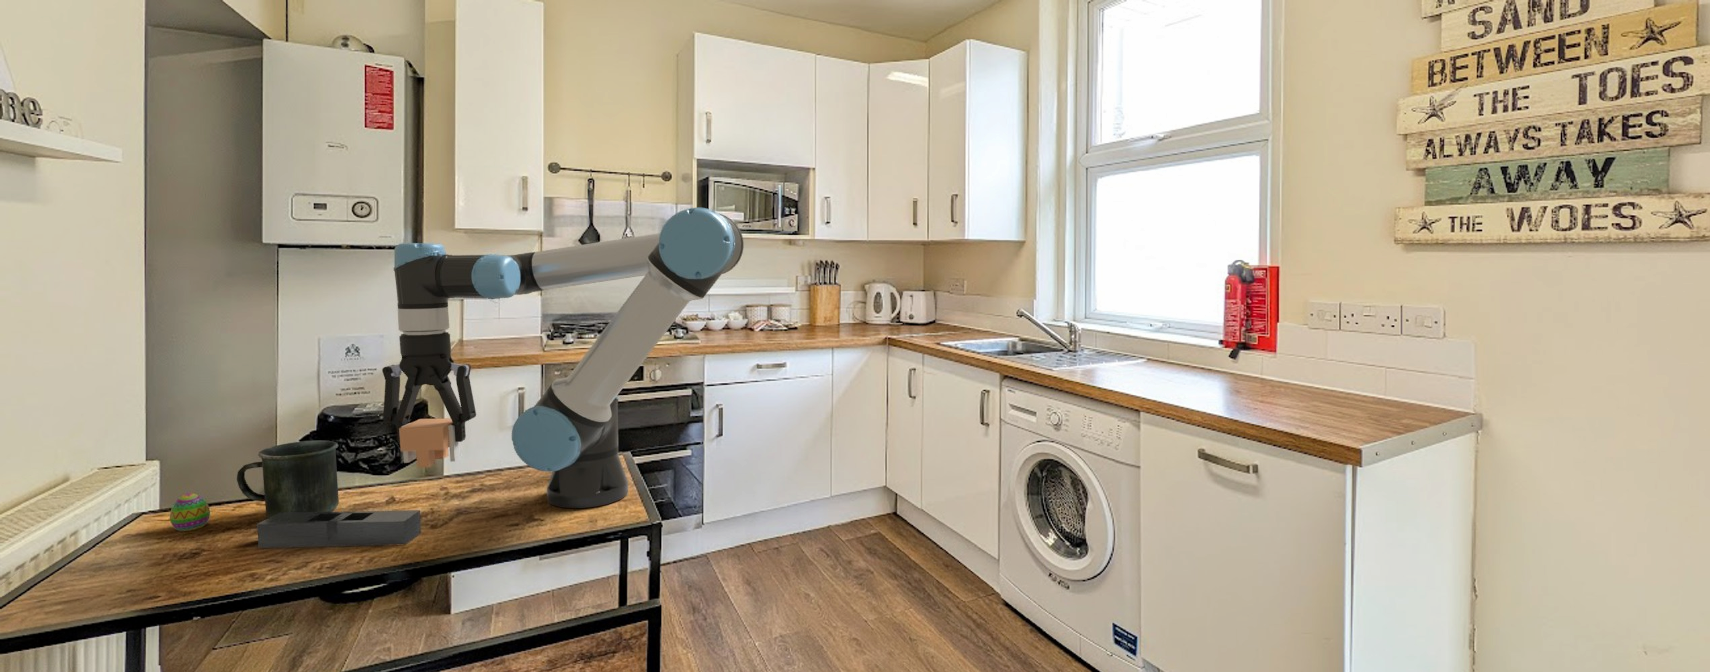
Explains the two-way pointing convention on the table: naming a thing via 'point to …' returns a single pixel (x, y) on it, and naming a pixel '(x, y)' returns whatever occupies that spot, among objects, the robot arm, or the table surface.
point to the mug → (296, 477)
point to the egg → (189, 512)
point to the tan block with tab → (426, 440)
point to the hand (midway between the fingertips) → (433, 459)
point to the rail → (339, 529)
